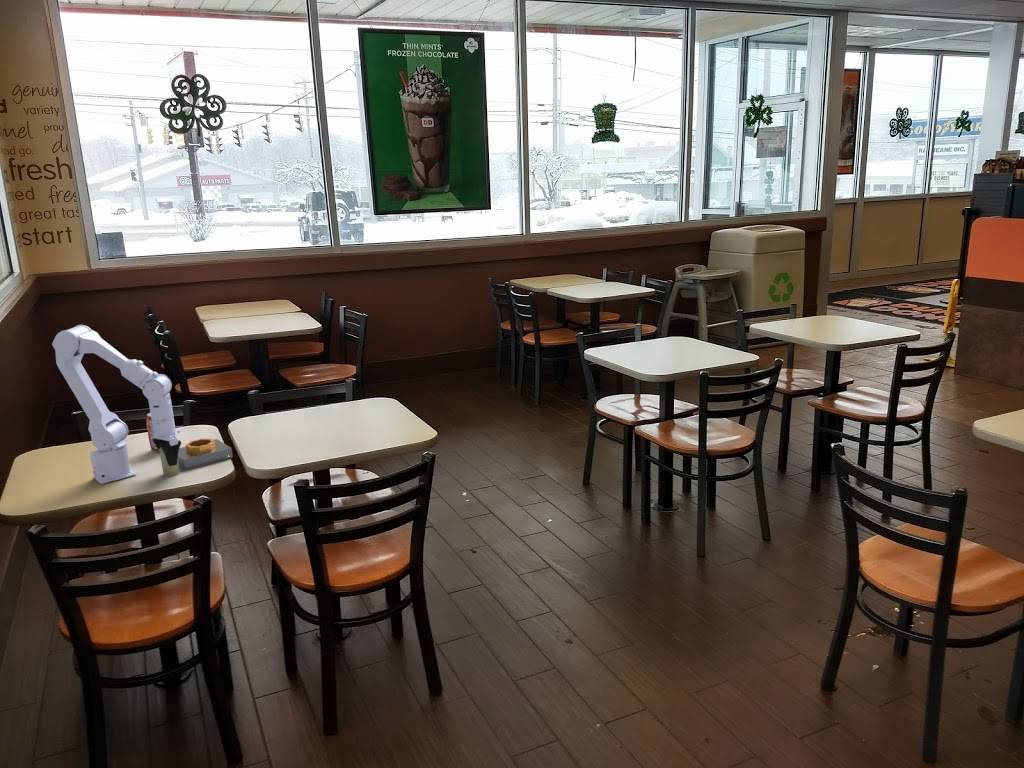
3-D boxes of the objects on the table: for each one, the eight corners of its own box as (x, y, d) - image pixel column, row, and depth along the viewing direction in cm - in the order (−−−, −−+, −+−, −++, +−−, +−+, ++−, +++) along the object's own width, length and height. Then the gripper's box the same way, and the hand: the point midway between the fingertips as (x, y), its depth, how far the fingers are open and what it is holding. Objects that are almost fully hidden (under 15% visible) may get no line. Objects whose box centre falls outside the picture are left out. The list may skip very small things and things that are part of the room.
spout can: (166, 477, 223) (161, 447, 220) (161, 473, 226) (156, 443, 223) (182, 473, 225) (177, 443, 223) (177, 469, 229) (172, 439, 226)
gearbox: (185, 469, 228) (183, 453, 227) (169, 457, 239) (166, 441, 238) (232, 457, 237) (230, 441, 235) (214, 445, 248) (212, 430, 247)
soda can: (145, 452, 244) (139, 415, 241) (161, 444, 251) (155, 409, 248) (164, 454, 242) (158, 417, 239) (180, 446, 249) (174, 410, 246)
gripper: (185, 420, 218) (192, 465, 222) (168, 409, 229) (175, 453, 233) (159, 426, 214) (167, 472, 218) (143, 415, 225) (151, 459, 228)
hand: (170, 463), depth 225 cm, fingers closed on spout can, 4 cm apart
